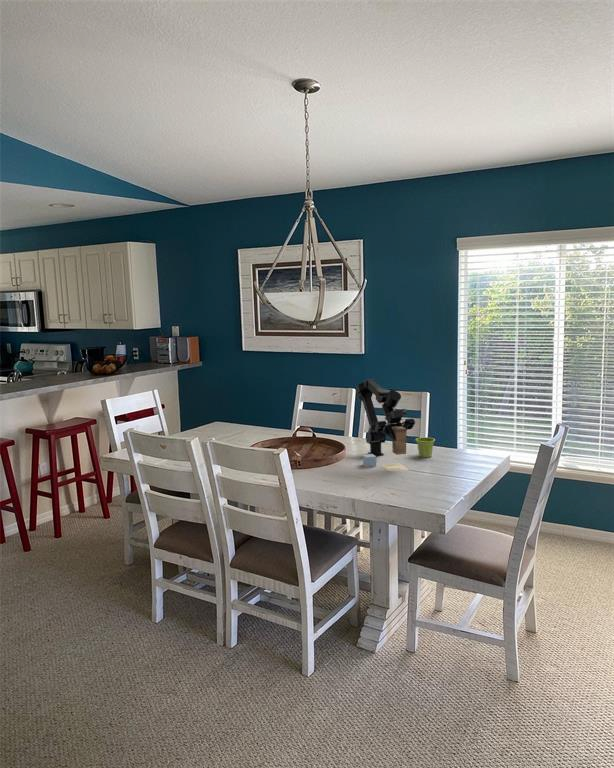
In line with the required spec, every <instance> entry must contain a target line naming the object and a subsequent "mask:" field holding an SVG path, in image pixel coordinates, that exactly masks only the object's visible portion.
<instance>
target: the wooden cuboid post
mask: <svg viewBox="0 0 614 768" xmlns="http://www.w3.org/2000/svg"><path fill="white" fill-rule="evenodd" d="M392 430H393V433H394V435H395V438H396V441H394V440H393V439H392V438H391V441H392V445H391V446H392V450H391V451H392V453H393V454H394V455H406V454H407V431H406V428H404V427H392Z"/></svg>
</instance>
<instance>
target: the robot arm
mask: <svg viewBox="0 0 614 768" xmlns="http://www.w3.org/2000/svg"><path fill="white" fill-rule="evenodd" d="M355 394H356V395H357V398H358V399H359V400H360V401H361V402H362V404H363V408H364V411H365V414H366V418H367V421H368V424H369V425H368V431H367V433H368V434H367V436H366V437H365V441H366V443H367V444H369V451H368V452H367V453H369V454H373V455H375V456H376V457H377V455H378V456H384V455H385V453H383V452H382V444H383V443H384V444H385V443H386V440H387V439H386V438H387V436H388V437H389V438H390V439H391V440H392V439H393V440H394V441H396V438H395V435H394V433H393V430H392V427H404V428H406V432H407V431H408V430H412V429H413V428H414V426H415V424H416V421H415V418H405V420H404V421H402V420H403V417H405V416H406V415H407V414H408V413H407V409H406V408H401V409H398V410H397V409H396V407H397V406H398V405H399V403H400V400H401V398H402V395H401V394H400V393H399V392H398V391H396V390H395V389H390V390H389V389H387V388H383V387H381V385H379V384H378V383H377V382H376V381H375V379H373V378H371V379H365V380H364V381H363V382H361V383H358V385H357V386H356V387H355ZM373 395H374V396H375V400H376V401H377V403H378V404H382V405H381V408H380V409H381V411H382V412H383V413H384V417H385V418H384V420H380V421H379V419H378V417H377V412H376V409H375V406H374V403H373V400H372V399H373V398H372V397H373Z"/></svg>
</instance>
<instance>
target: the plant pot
mask: <svg viewBox="0 0 614 768" xmlns="http://www.w3.org/2000/svg"><path fill="white" fill-rule="evenodd" d="M435 440H436V439H435V438H432V437H426V436H425V437H418V438H415V441H416V445H417V451H418V455H419V457H421V458H431V457H432V455H433V448H434V443H435Z"/></svg>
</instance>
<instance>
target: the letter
mask: <svg viewBox="0 0 614 768" xmlns="http://www.w3.org/2000/svg"><path fill="white" fill-rule="evenodd" d="M396 463H397V464H398V466H397V465H396ZM387 464H388V465H387ZM395 465H396V466H394V463H385V465H384V464H381V467H382V466H383V467H384V468H385V469H386V470H388V471H389V472H399V471H408V470H409V469H408V468H407V467H405V466H404V465H403V464H401V463H399V462H395ZM399 465H400V466H399Z"/></svg>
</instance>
